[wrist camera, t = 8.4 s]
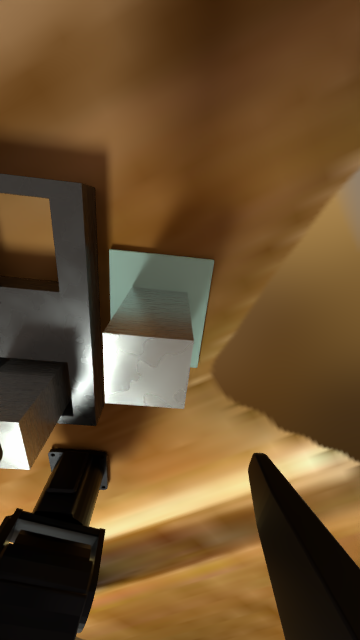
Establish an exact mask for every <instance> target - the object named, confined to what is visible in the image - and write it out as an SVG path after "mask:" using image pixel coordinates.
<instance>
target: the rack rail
mask: <svg viewBox="0 0 360 640" xmlns="http://www.w3.org/2000/svg"><path fill="white" fill-rule="evenodd" d="M0 193H5V194H13V195H22V196H31V197H40V198H49V201H50V210H51V219H52V228H53V237H54V246H55V255H56V263H57V272H58V281H59V282H57V281H47V280H36V279H26V278H16V277H5V276H0V367H1V366H3V365H4V364H5V363H6V362H7V361H8V360H10V359H11V358H17V359H30V360H43V361H56V362H68V371H69V379H70V388H71V397H72V398H71V400H70V401H69V403H68V405H67V407H66V408H65V410H64V412H63V414H62V415H61V417H60V419H59V420H58V422H57V423H60V424H75V425H91V426H96V425H97V422H98V420H99V417H100V414H101V412H102V409H103V407H104V401H103V376H102V351H101V326H100V301H99V276H98V251H97V226H96V201H95V188H94V187H91V186H88V185H85V184H82V183H75V182H66V181H58V180H49V179H41V178H32V177H24V176H15V175H7V174H0Z"/></svg>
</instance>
